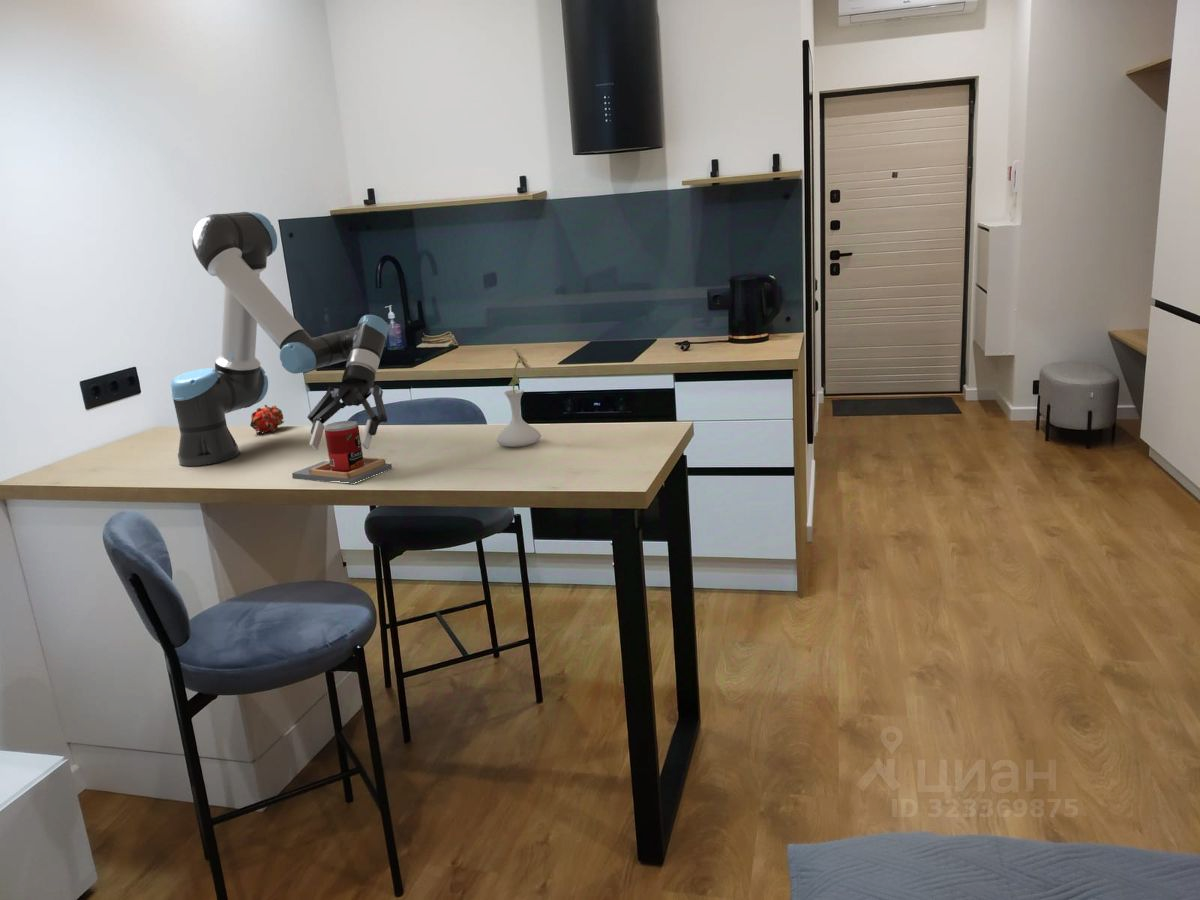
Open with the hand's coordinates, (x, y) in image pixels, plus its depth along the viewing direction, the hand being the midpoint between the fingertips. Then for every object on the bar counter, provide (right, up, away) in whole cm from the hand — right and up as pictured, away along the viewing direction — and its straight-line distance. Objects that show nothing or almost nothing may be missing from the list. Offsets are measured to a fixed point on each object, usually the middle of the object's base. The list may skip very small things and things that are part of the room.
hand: (338, 446), depth 219 cm
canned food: (+1, -5, +4) cm, 7 cm away
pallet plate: (-1, -6, +5) cm, 8 cm away
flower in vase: (+41, +1, +19) cm, 46 cm away
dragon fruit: (-37, +4, +57) cm, 68 cm away
